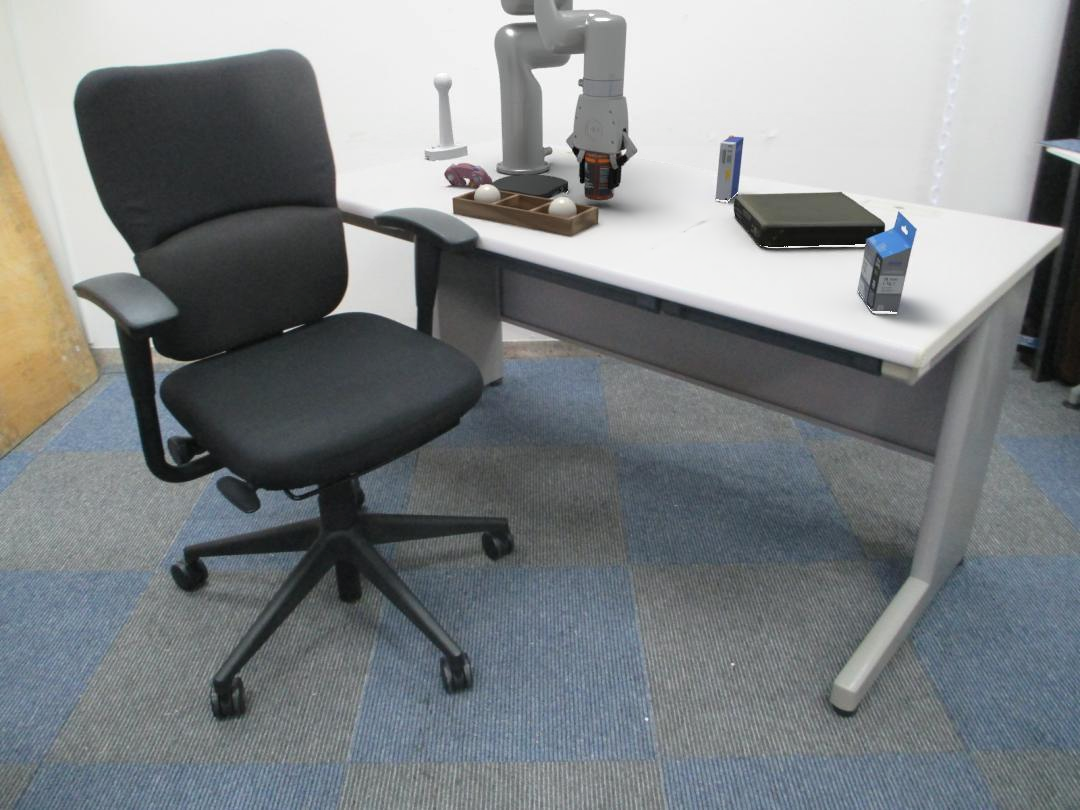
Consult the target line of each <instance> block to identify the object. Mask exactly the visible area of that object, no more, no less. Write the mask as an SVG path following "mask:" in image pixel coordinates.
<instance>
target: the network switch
mask: <svg viewBox="0 0 1080 810" xmlns="http://www.w3.org/2000/svg"><path fill="white" fill-rule="evenodd" d="M733 201H734V202H733V214H734V217H735V219H736V218H737V219H738V220H737V219H736V220H737V221H738V222H739V223H740V224H741V225H742V226H743V228H744V229H745V230H746V229H747V230H746V231H747V232H748V233H749V234H750V236H751V237H752V238H753V240H754V242H755V241H756V242H755V244H756V243H758V244H759V245H761V246H768V247H784V246H785V247H786V246H787V247H788V246H819V245H855V244H866V239H867V238H870V237H872V236H875V235H877V234H880V233H882V232H885V231H886V223H885V222H884V221H883V220H882V219H881V218H880V217H878V216H877V215H875V214H874V213H872V212H871V211H869V210H868V209H866V208H865V207H864V206H863V205H861V204H859V203H858V202H857V201H856V200H854V199H852V198H851V197H850V196H847V195H846V194H845V193H843V192H842V191H834V192H833V191H831V192H828V191H827V192H788V193H750V194H749V193H747V194H746V193H741V194H739V195H736V196H735V197H734V200H733ZM758 244H757V245H758ZM759 245H758V246H759ZM761 246H760V247H761Z"/></svg>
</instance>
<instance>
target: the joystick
mask: <svg viewBox="0 0 1080 810" xmlns="http://www.w3.org/2000/svg"><path fill="white" fill-rule="evenodd" d="M433 86H434V87H435V90H436V91H437V93H438V115H439V116H438V117H439V118H438V120H439V121H438V123H439V125H438V126H439V144H433V145H431V148H428V149H427V148H425V149H424V150H423V151H424V158H425V159H427V158H428V161H430V160H431V161H430V162H437V161H436V160H438V161H444V160H451V159H452V160H453V159H455V158H456V159H457V158H460V157H464V156H467V155H468V145H467V144H463V143H457V144H455V142H454V141H455V140H454V133H453V124H452V123H453V122H452V114H451V106H450V98H449V97H450V96H449V91H450V90H451V88H452V86H453V80H452V77H451V76H450V74H448V73H446V72H439V73H437V74H436V75H435V76H434V78H433Z"/></svg>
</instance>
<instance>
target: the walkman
mask: <svg viewBox="0 0 1080 810" xmlns="http://www.w3.org/2000/svg"><path fill="white" fill-rule="evenodd" d="M744 140H745V139H744V136H734V135H729V136H728V138H725V139H724V140H723V141H722V142H720V143H719V144H720V145H719V155H718V156H719V158H718V169H717V176H716V177H717V178H716V186H715V187H716V190H715V199H719V200H727V201H728V200H729V199H730V198H732V197H733V196H734V195H735V194H736V193H737V192H738V193H739V185H740V179H741V178H740V176H741V169H742V157H743V147H744Z"/></svg>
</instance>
